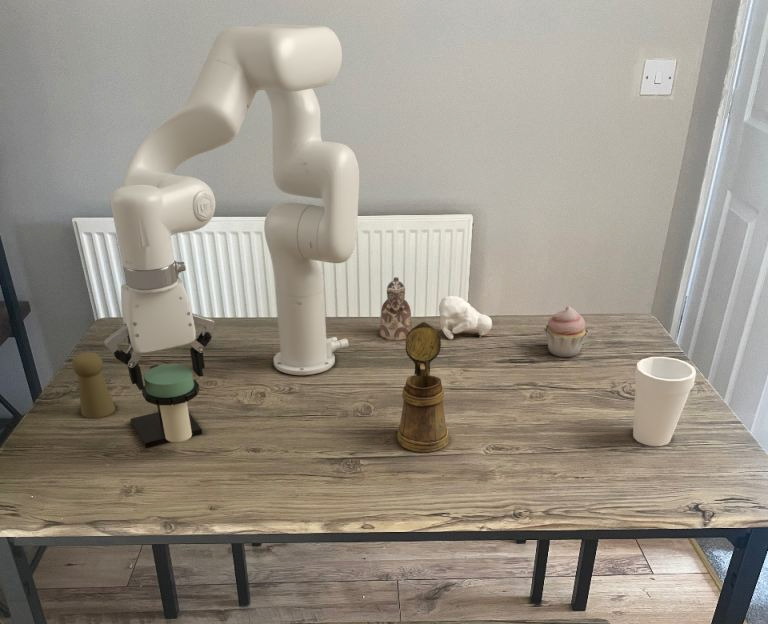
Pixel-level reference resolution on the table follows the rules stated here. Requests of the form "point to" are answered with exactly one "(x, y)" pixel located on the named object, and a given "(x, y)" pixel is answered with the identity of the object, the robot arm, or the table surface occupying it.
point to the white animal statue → (461, 317)
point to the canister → (167, 385)
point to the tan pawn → (92, 386)
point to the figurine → (395, 313)
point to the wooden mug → (423, 395)
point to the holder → (152, 423)
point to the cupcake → (565, 333)
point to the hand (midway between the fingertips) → (169, 379)
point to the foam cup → (660, 398)
